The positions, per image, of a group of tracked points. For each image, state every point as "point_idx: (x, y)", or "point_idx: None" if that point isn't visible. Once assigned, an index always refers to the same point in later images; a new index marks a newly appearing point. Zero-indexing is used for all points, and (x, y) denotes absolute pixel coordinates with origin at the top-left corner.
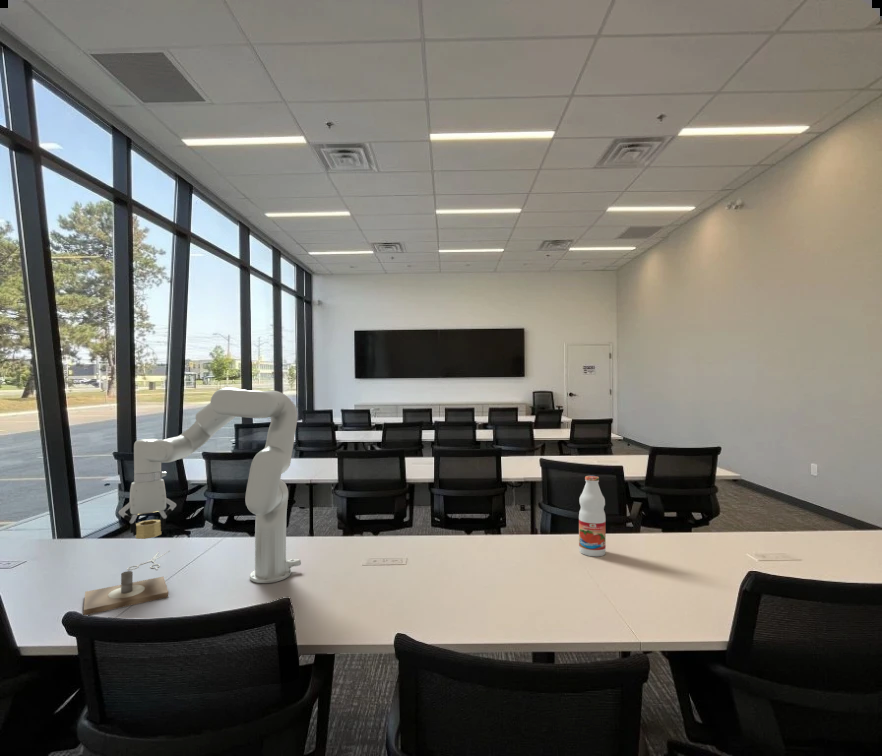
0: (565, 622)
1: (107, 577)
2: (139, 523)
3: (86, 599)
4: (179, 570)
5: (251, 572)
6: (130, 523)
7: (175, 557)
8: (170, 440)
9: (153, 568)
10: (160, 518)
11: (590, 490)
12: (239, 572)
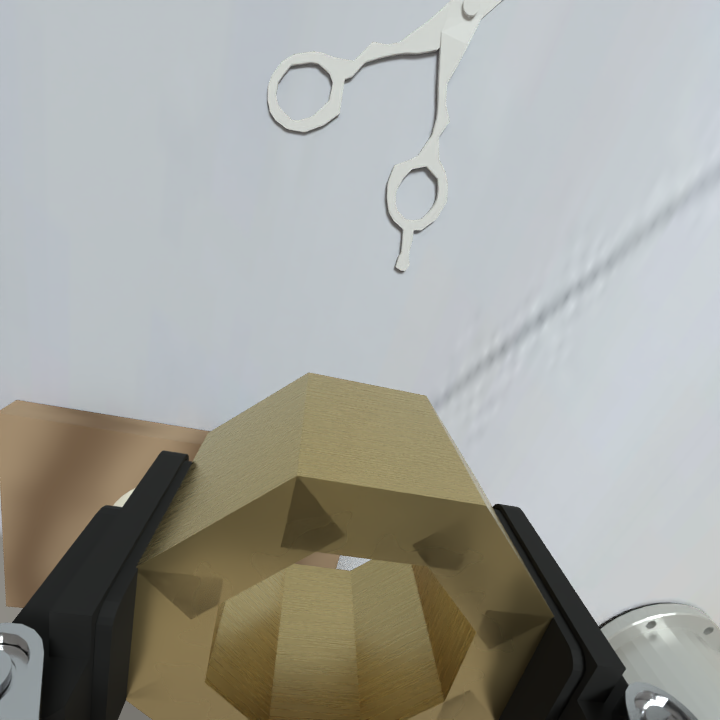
0: None
1: (136, 164)
2: (205, 604)
3: (10, 512)
4: (475, 369)
5: (617, 634)
6: (13, 622)
7: (580, 102)
8: None
9: (396, 223)
10: (550, 706)
11: None
12: (611, 564)
